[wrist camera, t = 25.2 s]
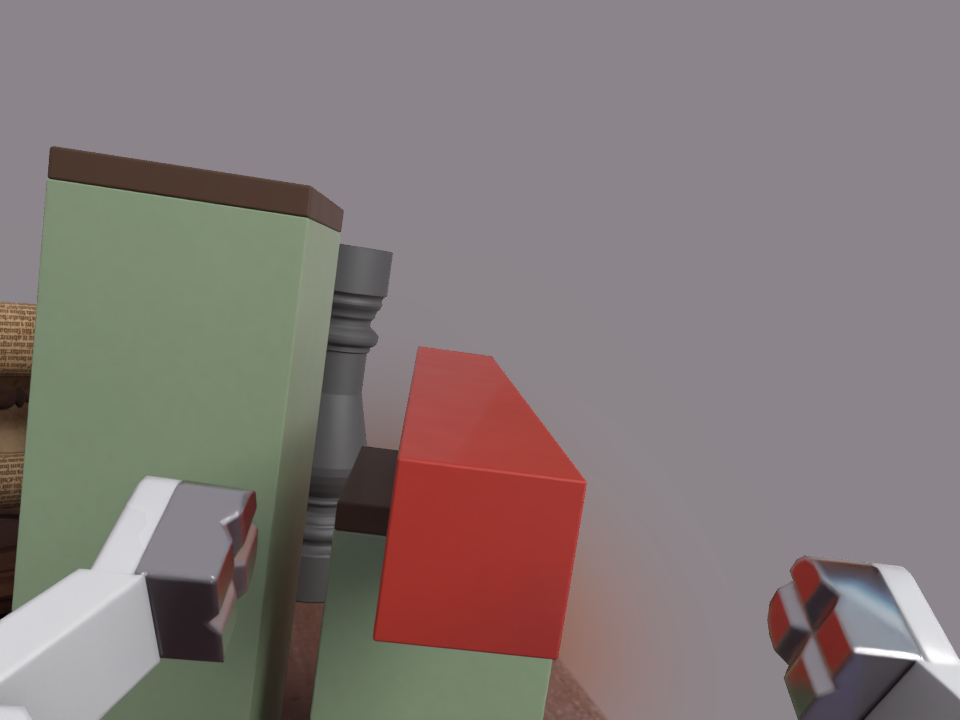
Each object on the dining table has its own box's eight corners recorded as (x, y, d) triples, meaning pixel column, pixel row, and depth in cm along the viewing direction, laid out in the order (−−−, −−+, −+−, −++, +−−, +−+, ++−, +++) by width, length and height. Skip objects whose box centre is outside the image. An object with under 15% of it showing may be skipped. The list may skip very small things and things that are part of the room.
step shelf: (535, 983, 25) (662, 236, 23) (-65, 941, 24) (-5, 133, 21) (507, 784, 35) (592, 248, 33) (82, 745, 34) (135, 179, 31)
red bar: (558, 661, 16) (587, 481, 15) (371, 641, 15) (396, 457, 15) (481, 428, 39) (492, 356, 39) (408, 419, 39) (418, 346, 39)
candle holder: (312, 611, 50) (359, 246, 47) (249, 581, 53) (289, 236, 50) (369, 585, 55) (413, 256, 52) (308, 559, 58) (347, 247, 55)
